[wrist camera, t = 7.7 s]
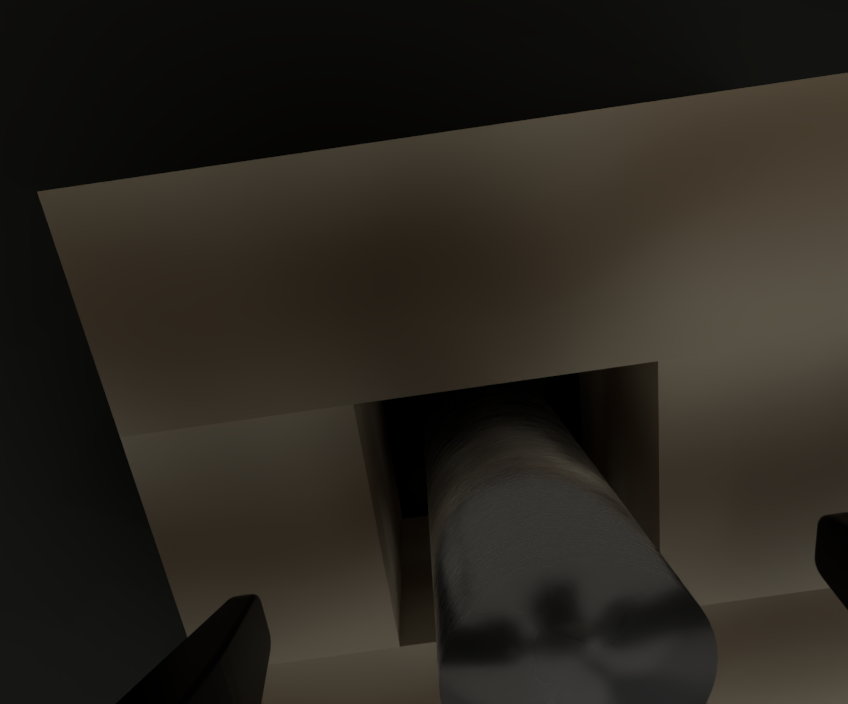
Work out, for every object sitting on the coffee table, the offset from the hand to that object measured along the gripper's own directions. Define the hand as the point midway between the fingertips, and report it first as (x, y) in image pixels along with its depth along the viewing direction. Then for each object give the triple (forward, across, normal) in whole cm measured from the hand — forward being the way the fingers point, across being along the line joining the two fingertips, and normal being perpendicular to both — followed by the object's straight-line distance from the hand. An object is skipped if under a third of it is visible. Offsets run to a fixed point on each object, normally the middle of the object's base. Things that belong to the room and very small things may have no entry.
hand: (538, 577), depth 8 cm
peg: (+6, 0, 0) cm, 6 cm away
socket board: (+6, 0, 0) cm, 6 cm away
